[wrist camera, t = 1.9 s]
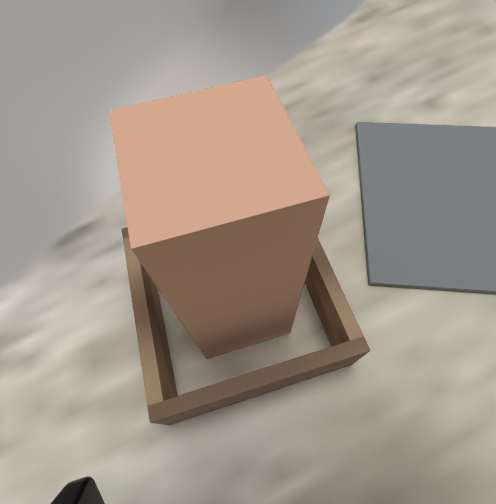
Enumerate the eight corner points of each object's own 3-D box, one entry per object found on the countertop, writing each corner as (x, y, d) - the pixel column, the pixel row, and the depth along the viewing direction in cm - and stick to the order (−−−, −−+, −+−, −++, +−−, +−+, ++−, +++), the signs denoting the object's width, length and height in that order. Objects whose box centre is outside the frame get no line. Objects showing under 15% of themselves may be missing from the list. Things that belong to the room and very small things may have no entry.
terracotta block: (290, 332, 20) (329, 195, 9) (207, 358, 19) (130, 248, 8) (263, 260, 22) (266, 74, 11) (188, 281, 22) (109, 110, 10)
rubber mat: (609, 301, 20) (616, 299, 20) (368, 285, 21) (370, 282, 21) (537, 132, 27) (541, 128, 26) (355, 125, 28) (356, 121, 27)
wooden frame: (352, 364, 19) (370, 350, 16) (169, 424, 18) (150, 422, 15) (288, 216, 24) (292, 183, 21) (140, 256, 23) (121, 228, 20)
